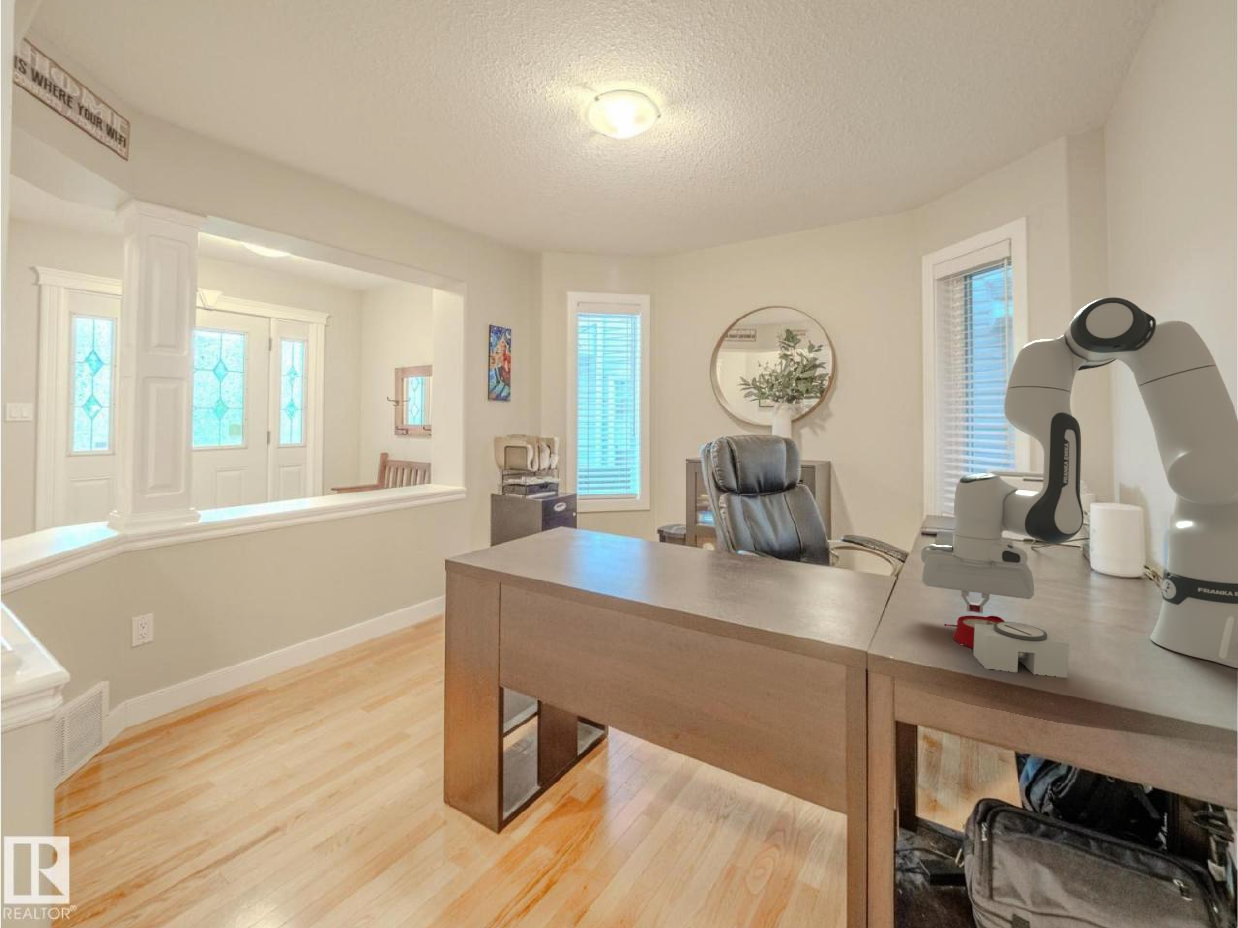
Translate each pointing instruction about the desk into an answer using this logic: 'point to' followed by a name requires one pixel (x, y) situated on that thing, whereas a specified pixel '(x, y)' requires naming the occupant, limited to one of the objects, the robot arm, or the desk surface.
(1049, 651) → the dial gauge
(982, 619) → the alarm clock
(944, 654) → the desk surface
